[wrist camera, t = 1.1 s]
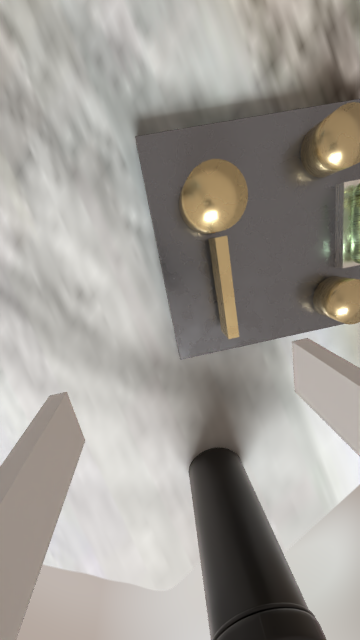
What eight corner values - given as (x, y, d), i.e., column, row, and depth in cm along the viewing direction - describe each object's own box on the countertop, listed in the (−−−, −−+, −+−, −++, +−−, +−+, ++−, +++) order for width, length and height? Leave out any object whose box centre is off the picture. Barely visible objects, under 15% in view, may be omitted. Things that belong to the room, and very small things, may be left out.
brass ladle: (173, 176, 25) (177, 165, 21) (231, 166, 25) (244, 153, 21) (200, 332, 30) (206, 344, 26) (248, 322, 30) (260, 332, 26)
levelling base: (136, 145, 25) (132, 117, 20) (354, 107, 27) (405, 72, 21) (178, 353, 32) (184, 373, 27) (349, 316, 34) (386, 328, 28)
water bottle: (176, 490, 39) (207, 801, 17) (193, 438, 37) (256, 723, 15) (234, 497, 41) (330, 785, 19) (255, 447, 38) (393, 713, 16)
